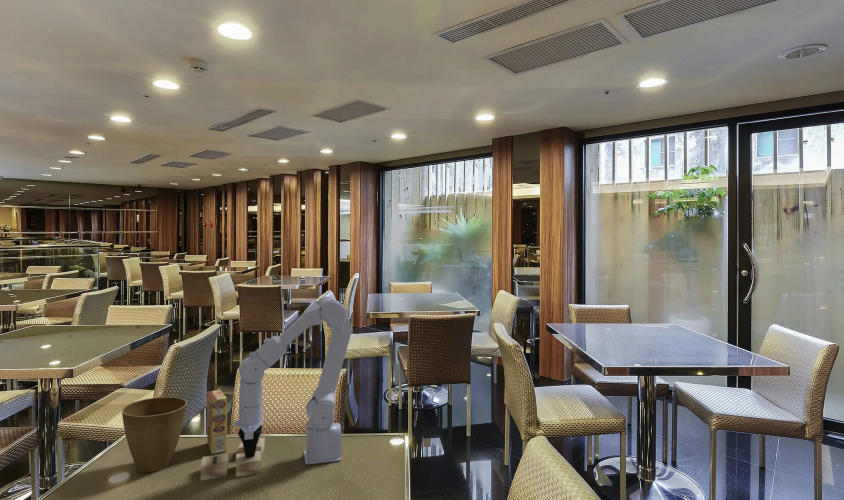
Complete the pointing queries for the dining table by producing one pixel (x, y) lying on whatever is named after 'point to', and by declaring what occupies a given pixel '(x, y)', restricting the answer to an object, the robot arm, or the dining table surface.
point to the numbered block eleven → (259, 446)
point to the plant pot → (153, 430)
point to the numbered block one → (214, 466)
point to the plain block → (248, 464)
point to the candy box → (216, 421)
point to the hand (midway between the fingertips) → (250, 456)
